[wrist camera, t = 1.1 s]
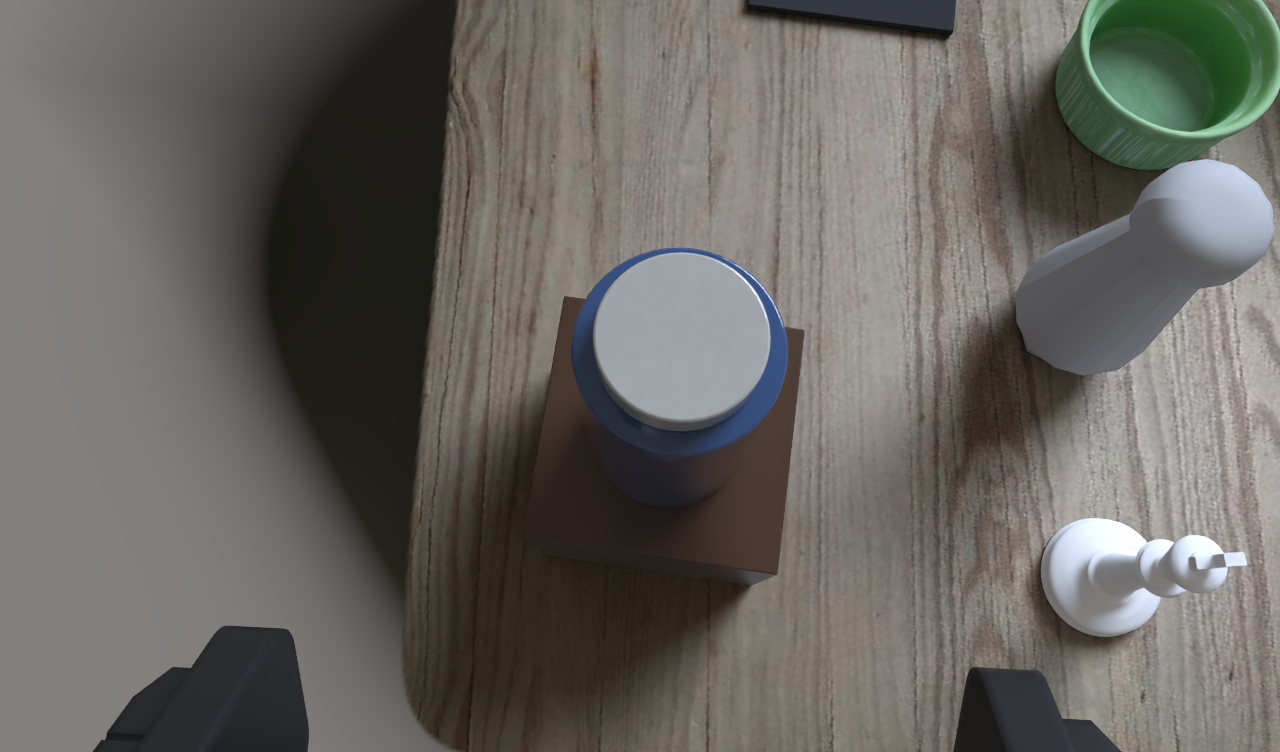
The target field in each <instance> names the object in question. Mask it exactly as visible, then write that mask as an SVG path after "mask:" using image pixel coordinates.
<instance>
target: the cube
mask: <svg viewBox="0 0 1280 752" xmlns="http://www.w3.org/2000/svg"><path fill="white" fill-rule="evenodd" d="M585 300H586V299H582V298H574V297H567V296H565V297H564V300H563V306H562V311H561V317H560V323H559V329H558V334H557V340H556V346H555V352H554V358H553V363H552V369H551V375H550V381H549V386H548V392H547V398H546V404H545V409H544V415H543V421H542V427H541V433H540V438H539V444H538V450H537V456H536V461H535V467H534V473H533V479H532V485H531V490H530V496H529V502H528V508H527V513H526V519H525V525H524V531H523V537H524V538H525V539H526V540H527V541H528V542H529V543H530V544H532V545H533V546H534V547H535V548H536V549H537V550H538V551H539V552H541V553H542V554H543V555H547V556H554V557H561V558H568V559H574V560H581V561H588V562H594V563H601V564H608V565H615V566H621V567H628V568H635V569H642V570H648V571H655V572H662V573H669V574H675V575H682V576H689V577H695V578H702V579H709V580H716V581H722V582H729V583H736V584H743V585H749V586H752V585H754V584H757V583H759V582H761V581H763V580H766V579H768V578H770V577H772V576H775V575H777V574H778V566H779V557H780V548H781V539H782V530H783V521H784V512H785V503H786V494H787V485H788V475H789V466H790V457H791V448H792V439H793V430H794V421H795V412H796V403H797V394H798V385H799V376H800V367H801V358H802V349H803V340H804V330H803V329H795V328H788V327H785V331H786V336H787V344H788V365H787V370H786V376H785V380H784V383H783V386H782V389H781V392H780V394H779V396H778V398H777V400H776V402H775V404H774V405H773V407H772V409H771V411H770V412H769V414H768V416H767V417H766V419H765V421H764V422H763V424H762V426H761V427H760V429H759V431H758V432H757V434H756V436H755V437H754V439H753V441H752V442H751V444H750V446H749V447H748V449H747V451H746V453H745V454H744V456H743V458H742V459H741V461H740V463H739V464H738V466H737V468H736V469H735V471H734V472H733V474H732V475H731V477H730V478H729V479H728V480H727V482H726V483H725V484H724V485H723V486H722V487H721V488H720V489H718V490H717V491H716V492H715V493H713V494H712V495H710V496H709V497H707V498H706V499H703V500H701V501H699V502H697V503H694V504H691V505H688V506H683V507H678V508H659V507H653V506H648V505H645V504H642V503H639V502H636V501H634V500H632V499H630V498H628V497H627V496H625V495H624V494H622V493H621V492H619V491H618V490H617V489H616V488H615V487H614V486H613V485H611V484H610V482H609V481H608V480H607V479H606V478H605V476H604V475H603V473H602V472H601V470H600V469H599V467H598V465H597V463H596V461H595V459H594V455H593V452H592V449H591V445H590V441H589V437H588V432H587V428H586V424H585V419H584V415H583V411H582V407H581V402H580V398H579V394H578V390H577V385H576V381H575V377H574V372H573V366H572V356H571V345H572V335H573V330H574V326H575V322H576V319H577V316H578V314H579V311H580V309H581V307H582V305H583V303H584V301H585Z"/></svg>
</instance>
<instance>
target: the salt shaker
mask: <svg viewBox="0 0 1280 752" xmlns="http://www.w3.org/2000/svg"><path fill="white" fill-rule="evenodd" d="M1273 234H1274V223H1273V211H1272V205H1271V204H1270V202H1269V200H1268V199H1267V197H1266V196H1265V194H1264V192H1263V191H1262V189H1261V187H1260V186H1259V184H1258V183H1257V182H1256V181H1255V180H1253V179H1252V178H1251V177H1249V176H1248V175H1247V174H1245V173H1244V172H1243V171H1241V170H1240V169H1239V168H1237V167H1236V166H1234V165H1230V164H1226V163H1222V162H1218V161H1214V160H1210V159H1204V160H1197V161H1190V162H1183V163H1180V164H1178V165H1176V166H1174V167H1172V168H1170V169H1169V170H1167V171H1166V172H1165V173H1163V174H1162V175H1161V176H1159V177H1158V178H1156V179H1155V180H1154V181H1152V182H1151V183H1150V184H1149V185H1148V186H1147V187H1146V188H1145V189H1144V190H1143V191H1142V192H1141V194H1140V196H1139V198H1138V200H1137V202H1136V204H1135V206H1134V208H1133V210H1132V212H1131V213H1130V214H1128V215H1126V216H1124V217H1121V218H1119V219H1117V220H1115V221H1113V222H1110V223H1108V224H1106V225H1104V226H1102V227H1099V228H1097V229H1095V230H1093V231H1091V232H1088V233H1086V234H1084V235H1082V236H1080V237H1077V238H1075V239H1073V240H1071V241H1069V242H1066V243H1064V244H1062V245H1060V246H1058V247H1055V248H1053V249H1052V250H1051V251H1049V252H1048V253H1046V254H1045V255H1044V256H1042V257H1041V258H1040V259H1038V260H1037V261H1035V262H1034V263H1033V264H1031V265H1030V267H1029V269H1028V271H1027V273H1026V274H1025V276H1024V278H1023V280H1022V282H1021V284H1020V286H1019V288H1018V290H1017V292H1016V321H1017V324H1018V326H1019V328H1020V330H1021V332H1022V336H1023V339H1024V343H1025V347H1026V350H1027V351H1028V352H1030V353H1032V354H1033V355H1035V356H1037V357H1039V358H1041V359H1043V360H1045V361H1046V362H1048V363H1049V364H1050V365H1051V366H1053V367H1054V368H1058V369H1061V370H1065V371H1068V372H1072V373H1076V374H1079V375H1083V376H1085V375H1091V374H1097V373H1103V372H1109V371H1114V370H1118V369H1120V368H1121V367H1123V366H1124V365H1125V364H1127V363H1128V362H1130V361H1131V360H1132V359H1134V358H1135V357H1137V356H1138V355H1139V354H1141V353H1142V352H1143V351H1144V350H1145V349H1146V348H1147V347H1148V345H1149V344H1150V343H1151V342H1152V341H1153V340H1154V339H1155V337H1156V336H1157V335H1158V334H1159V333H1160V332H1161V331H1162V330H1163V328H1164V327H1165V326H1166V325H1167V324H1168V323H1169V322H1170V320H1171V319H1172V318H1173V317H1174V316H1175V315H1176V314H1177V312H1178V311H1179V310H1180V309H1181V308H1182V307H1183V306H1184V305H1185V303H1186V302H1187V301H1188V300H1189V299H1190V298H1191V297H1192V295H1193V294H1194V293H1195V292H1196V291H1197V290H1198V289H1200V288H1206V287H1212V286H1218V285H1223V284H1225V283H1228V282H1230V281H1232V280H1234V279H1235V278H1237V277H1238V276H1240V275H1241V274H1242V273H1244V272H1245V271H1247V270H1248V269H1249V268H1251V267H1252V266H1254V265H1255V264H1256V263H1257V262H1258V261H1259V260H1260V259H1261V258H1262V257H1263V256H1264V255H1265V253H1266V250H1267V248H1268V246H1269V243H1270V241H1271V238H1272V236H1273Z"/></svg>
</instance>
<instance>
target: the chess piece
mask: <svg viewBox="0 0 1280 752" xmlns="http://www.w3.org/2000/svg"><path fill="white" fill-rule="evenodd" d="M1244 565H1247V563H1246V558H1245V554H1244V552H1239V553H1236V552H1233V553H1223V551H1222V550H1221V548H1220V547H1219V546H1218V545H1217V544H1216V543H1215V542H1213V541H1212V540H1210V539H1208V538H1206V537H1203V536H1199V535H1189V536H1185V537H1183V538H1181V539H1179V540H1177V541H1176V542H1175V543H1173V542H1171V541H1168V540H1153V541H1150V542H1148V543H1147V542H1146V540H1145V539H1144V538H1143V537H1142V536H1141V535H1139V534H1138V533H1137V532H1136V531H1134V530H1133V529H1131V528H1130V527H1128V526H1126V525H1124V524H1122V523H1119V522H1116V521H1112V520H1107V519H1082V520H1078V521H1075V522H1072V523H1070V524H1068V525H1066V526H1065V527H1063V528H1062V529H1060V530H1059V531H1058V532H1057V533H1056V534H1055V535H1054V536H1053V537H1052V539H1051V540H1050V541H1049V543H1048V545H1047V547H1046V549H1045V551H1044V554H1043V557H1042V562H1041V580H1042V585H1043V589H1044V592H1045V595H1046V597H1047V599H1048V601H1049V603H1050V605H1051V606H1052V608H1053V609H1054V610H1055V612H1056V613H1057V614H1058V615H1059V616H1060V617H1061V618H1062V619H1063V620H1064V621H1065V622H1066V623H1068V624H1069V625H1070V626H1072V627H1073V628H1075V629H1077V630H1079V631H1081V632H1083V633H1086V634H1089V635H1093V636H1099V637H1112V636H1118V635H1122V634H1125V633H1128V632H1130V631H1133V630H1135V629H1137V628H1139V627H1140V626H1142V625H1143V624H1144V623H1145V622H1147V621H1148V620H1149V618H1150V617H1151V616H1152V615H1153V613H1154V612H1155V610H1156V609H1157V607H1158V604H1159V602H1160V599H1161V597H1163V598H1173V597H1176V596H1179V595H1181V594H1182V593H1184V592H1185V591H1186V590H1188V591H1190V592H1194V593H1209V592H1212V591H1214V590H1216V589H1217V588H1219V587H1220V586H1221V585H1222V583H1223V582H1224V580H1225V578H1226V575H1227V567H1234V566H1244Z"/></svg>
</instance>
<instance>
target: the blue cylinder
mask: <svg viewBox="0 0 1280 752" xmlns="http://www.w3.org/2000/svg"><path fill="white" fill-rule="evenodd" d="M571 356H572V366H573V372H574V377H575V381H576V385H577V390H578V394H579V398H580V402H581V407H582V411H583V415H584V419H585V424H586V428H587V432H588V437H589V441H590V445H591V449H592V452H593V455H594V459H595V461H596V463H597V465H598V467H599V469H600V470H601V472H602V473H603V475H604V476H605V478H606V479H607V480H608V481H609V482H610V484H611V485H613V486H614V487H615V488H616V489H617V490H618V491H619V492H621V493H622V494H624V495H625V496H627V497H628V498H630V499H632V500H634V501H636V502H639V503H642V504H645V505H648V506H653V507H659V508H678V507H683V506H688V505H691V504H694V503H697V502H699V501H701V500H703V499H706V498H707V497H709V496H710V495H712V494H713V493H715V492H716V491H717V490H718V489H720V488H721V487H722V486H723V485H724V484H725V483H726V482H727V480H728V479H729V478H730V477H731V475H732V474H733V472H734V471H735V469H736V468H737V466H738V464H739V463H740V461H741V459H742V458H743V456H744V454H745V453H746V451H747V449H748V447H749V446H750V444H751V442H752V441H753V439H754V437H755V436H756V434H757V432H758V431H759V429H760V427H761V426H762V424H763V422H764V421H765V419H766V417H767V416H768V414H769V412H770V411H771V409H772V407H773V405H774V404H775V402H776V400H777V398H778V396H779V394H780V392H781V389H782V386H783V383H784V380H785V376H786V370H787V365H788V344H787V336H786V331H785V327H784V323H783V320H782V318H781V315H780V312H779V310H778V308H777V306H776V305H775V303H774V301H773V299H772V298H771V296H770V295H769V293H768V292H767V291H766V289H765V288H764V287H763V286H762V285H761V284H760V282H759V281H758V280H757V279H756V278H755V277H754V276H752V275H751V274H750V273H749V272H748V271H746V270H745V269H744V268H742V267H741V266H739V265H737V264H736V263H734V262H733V261H731V260H728V259H726V258H724V257H722V256H720V255H717V254H714V253H711V252H708V251H703V250H698V249H692V248H665V249H659V250H653V251H650V252H647V253H643V254H640V255H638V256H635V257H633V258H631V259H629V260H627V261H625V262H623V263H622V264H620V265H618V266H617V267H615V268H614V269H613V270H611V271H610V272H609V273H608V274H606V275H605V276H604V277H603V278H602V279H601V280H600V281H599V282H598V283H597V284H596V285H595V287H594V288H593V289H592V291H591V292H590V293H589V295H588V296H587V298H586V300H585V301H584V303H583V305H582V307H581V309H580V311H579V314H578V316H577V319H576V322H575V326H574V330H573V335H572V345H571Z"/></svg>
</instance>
